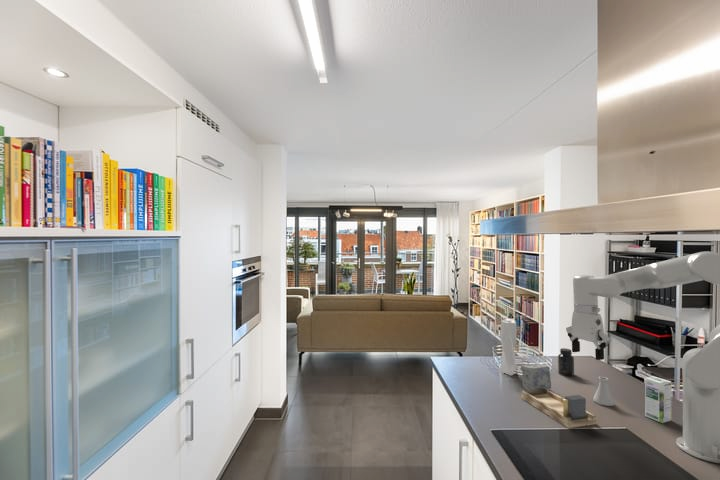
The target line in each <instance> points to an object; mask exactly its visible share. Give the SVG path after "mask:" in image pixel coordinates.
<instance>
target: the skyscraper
mask: <svg viewBox="0 0 720 480" xmlns="http://www.w3.org/2000/svg"><path fill="white" fill-rule="evenodd" d="M517 332H518V331H517V322H516V320H514V319H513V318H512V319H510V318H505V317H504V316H503V315H500V342H501V344H500V345H501V348H502V351H501V358H500V359H501V360H500V361H501V362H500V373H501V374H504V373H505V374H504V375H508V376H513V375H515V374H514V371H516V372H517V362H516V354H515V347H516V342H517Z"/></svg>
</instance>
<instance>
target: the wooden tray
mask: <svg viewBox="0 0 720 480" xmlns="http://www.w3.org/2000/svg"><path fill="white" fill-rule="evenodd" d="M522 388H523V390H521V395H520V396H521V397H520V398H521V399H522V400H524V401H525V402H527V403H529V404H530V405H531V406H533V407H535V408H536V409H537V410H539V411H541V412H542V413H544V414H545V415H547V416H548V415H549V416H548V417H551V418H552V419H553V418H554V419H553V420H555V421H556V420H557V421H556V422H557V423H559V422H560V423H559V424H561V423H562V424H561V425H562V426H564V425H565V427H566V428H567V429H573V428H579V427H585V426H586V425H587V426H591V425H597V419H596V415H595V414H593V413H591V412H589V411H587V410H586V414H587V415H588V418H586V419H578V420H571V419H570V418H569V417H568V400H567V399H565V397H562V396H560V395H558V394H557V393H555V392H553V391H550V390H549V389H547V386H545V385H538V386H529V387H523V386H522Z"/></svg>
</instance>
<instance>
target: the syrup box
mask: <svg viewBox="0 0 720 480" xmlns="http://www.w3.org/2000/svg"><path fill="white" fill-rule="evenodd" d="M644 381H645V383H644V385H645V387H644V390H645V391H644V392H645V395H644V396H645V397H644V398H645V399H644V401H645V402H644V403H645V404H644V405H645V406H644V407H645V408H644V409H645V410H644V416H645V417H646V418H648V419H652V420H654V421H656V422H659V423H661V424H664V423H667V422H671V421H672V381H671V380H666V379H664V378H660V377H657V376H655V375H654V376H653V375H652V376H651V375H650V376H648V377H645V380H644Z"/></svg>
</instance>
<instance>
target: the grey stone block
mask: <svg viewBox="0 0 720 480" xmlns="http://www.w3.org/2000/svg"><path fill="white" fill-rule="evenodd" d="M550 369H551V368H550V366H549V365H547V364H545V365H544V364H541V363H537V362H536V363H535V364H526V365H525V364H521V365H520V370H521V372H522V374H521V375H522V384H521V385H522V388H523V387H529V386H538V385H545V386H547V390H549V389H550V390H551V389H552V380H551V372H550Z"/></svg>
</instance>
